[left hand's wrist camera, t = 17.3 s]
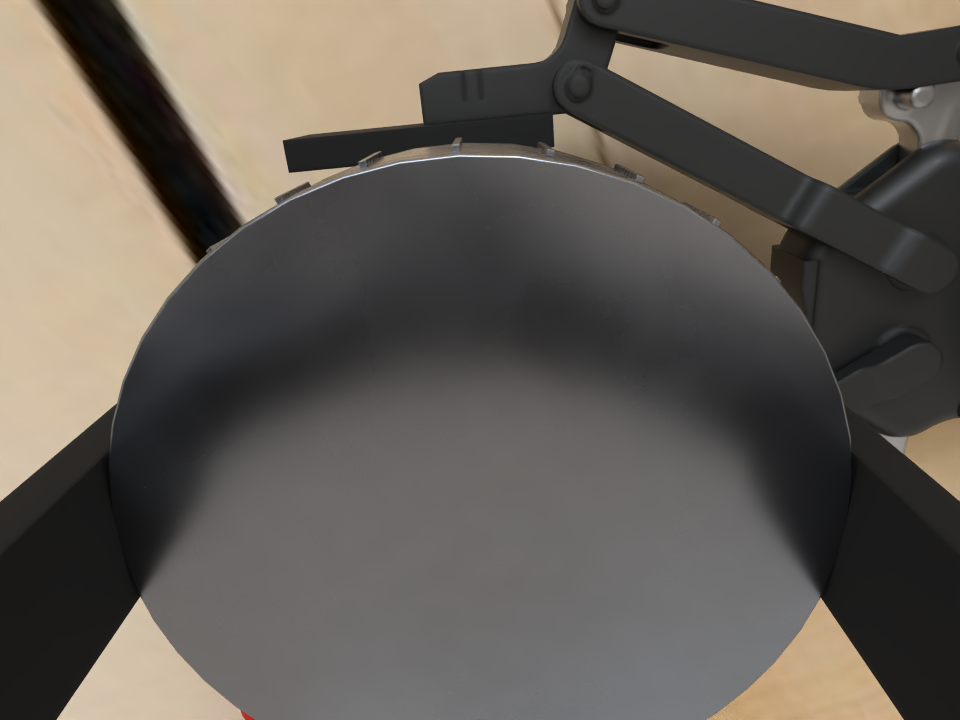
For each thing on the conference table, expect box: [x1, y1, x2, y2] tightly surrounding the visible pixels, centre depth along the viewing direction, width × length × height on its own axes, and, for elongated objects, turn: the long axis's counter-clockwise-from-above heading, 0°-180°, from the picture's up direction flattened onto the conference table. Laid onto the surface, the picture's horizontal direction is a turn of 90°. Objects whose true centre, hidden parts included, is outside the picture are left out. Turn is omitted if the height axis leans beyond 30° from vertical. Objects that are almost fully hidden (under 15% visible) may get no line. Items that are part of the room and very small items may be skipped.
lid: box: [108, 138, 852, 720], centre depth 11 cm, size 12×12×2 cm
